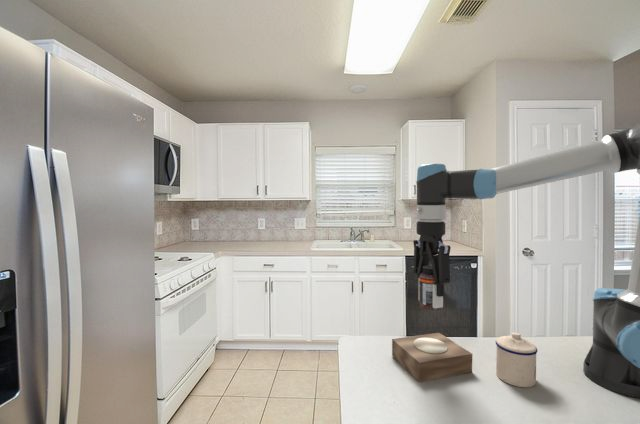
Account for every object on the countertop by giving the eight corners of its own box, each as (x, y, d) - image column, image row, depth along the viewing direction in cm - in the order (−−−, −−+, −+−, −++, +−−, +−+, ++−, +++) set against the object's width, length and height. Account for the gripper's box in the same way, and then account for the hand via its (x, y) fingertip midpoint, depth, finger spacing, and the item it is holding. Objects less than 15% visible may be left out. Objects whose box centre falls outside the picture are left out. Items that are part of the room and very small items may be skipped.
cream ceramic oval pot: (545, 388, 76) (546, 341, 76) (507, 388, 76) (508, 341, 76) (515, 363, 88) (516, 322, 88) (483, 363, 88) (483, 322, 88)
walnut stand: (472, 372, 84) (472, 352, 83) (419, 382, 79) (419, 361, 79) (438, 348, 97) (438, 331, 97) (392, 355, 93) (392, 337, 93)
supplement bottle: (420, 302, 92) (420, 263, 91) (442, 305, 89) (442, 265, 89) (417, 308, 86) (417, 267, 86) (440, 311, 84) (440, 269, 83)
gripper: (400, 219, 95) (400, 294, 96) (441, 223, 77) (440, 317, 77) (422, 218, 97) (422, 292, 98) (466, 222, 79) (465, 313, 79)
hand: (430, 303), depth 88 cm, fingers closed on supplement bottle, 6 cm apart
